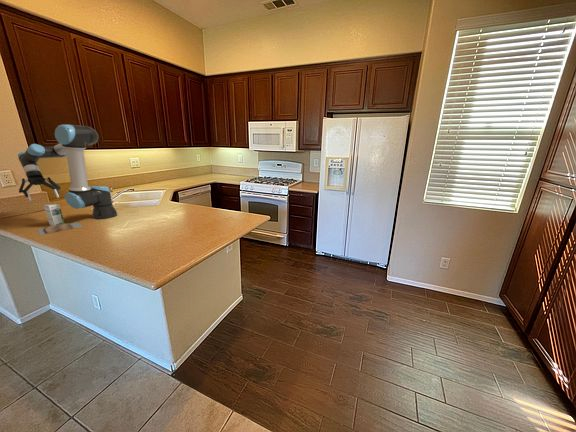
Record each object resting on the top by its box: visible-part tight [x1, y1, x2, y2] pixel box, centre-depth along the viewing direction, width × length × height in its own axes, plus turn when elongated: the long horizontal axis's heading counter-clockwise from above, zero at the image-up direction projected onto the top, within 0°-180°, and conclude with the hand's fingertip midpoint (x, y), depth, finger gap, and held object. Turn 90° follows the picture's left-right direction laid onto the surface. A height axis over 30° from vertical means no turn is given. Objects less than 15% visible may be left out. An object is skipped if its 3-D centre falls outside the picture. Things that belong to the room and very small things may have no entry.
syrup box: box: [43, 202, 65, 226], centre depth 158 cm, size 6×6×14 cm
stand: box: [43, 222, 74, 234], centre depth 152 cm, size 12×12×1 cm
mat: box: [37, 221, 84, 236], centre depth 154 cm, size 20×14×1 cm
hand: (45, 199), depth 161 cm, fingers open, 13 cm apart
